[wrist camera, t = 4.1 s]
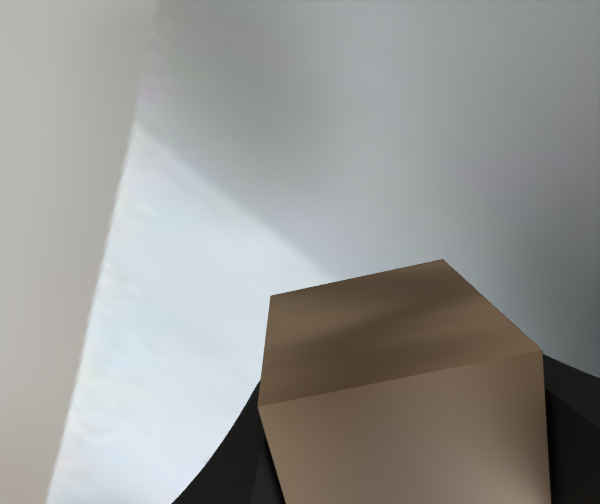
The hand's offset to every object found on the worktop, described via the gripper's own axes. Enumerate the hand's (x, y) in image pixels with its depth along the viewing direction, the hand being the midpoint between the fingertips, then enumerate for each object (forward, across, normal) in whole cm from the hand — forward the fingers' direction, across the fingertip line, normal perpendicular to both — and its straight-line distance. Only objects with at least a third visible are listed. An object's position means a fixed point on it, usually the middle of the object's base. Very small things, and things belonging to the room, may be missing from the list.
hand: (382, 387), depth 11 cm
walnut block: (+2, 0, 0) cm, 2 cm away
